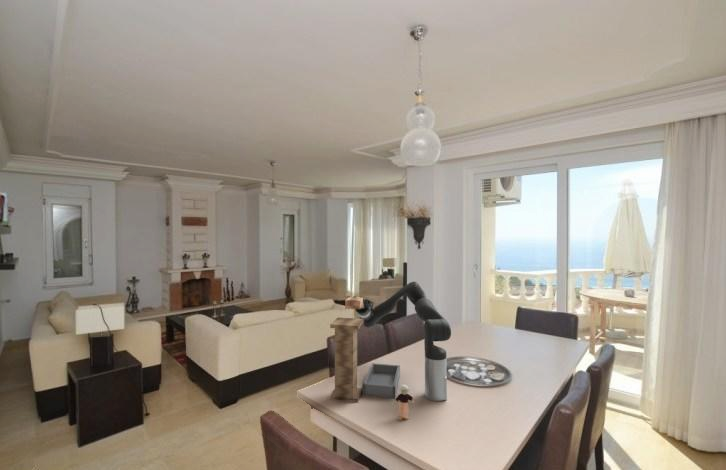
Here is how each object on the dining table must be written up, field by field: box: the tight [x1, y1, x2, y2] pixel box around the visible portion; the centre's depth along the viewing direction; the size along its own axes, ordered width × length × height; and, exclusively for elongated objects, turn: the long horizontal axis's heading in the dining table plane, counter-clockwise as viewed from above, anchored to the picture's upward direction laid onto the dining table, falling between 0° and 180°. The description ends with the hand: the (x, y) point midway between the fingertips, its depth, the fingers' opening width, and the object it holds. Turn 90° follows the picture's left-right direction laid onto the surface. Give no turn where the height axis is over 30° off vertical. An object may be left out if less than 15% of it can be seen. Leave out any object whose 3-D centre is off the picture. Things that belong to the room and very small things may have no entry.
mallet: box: [344, 296, 364, 310], centre depth 163 cm, size 7×16×4 cm, turn 169°
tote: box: [362, 362, 401, 399], centre depth 157 cm, size 14×24×5 cm, turn 169°
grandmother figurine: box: [393, 384, 415, 421], centre depth 129 cm, size 8×4×13 cm, turn 105°
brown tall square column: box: [329, 317, 363, 403], centre depth 147 cm, size 12×12×32 cm
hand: (357, 298), depth 166 cm, fingers closed on mallet, 2 cm apart
